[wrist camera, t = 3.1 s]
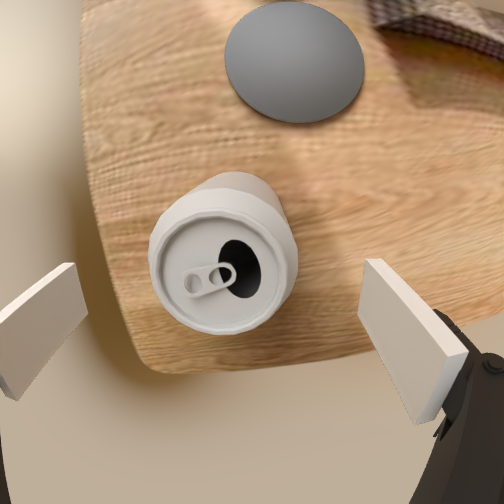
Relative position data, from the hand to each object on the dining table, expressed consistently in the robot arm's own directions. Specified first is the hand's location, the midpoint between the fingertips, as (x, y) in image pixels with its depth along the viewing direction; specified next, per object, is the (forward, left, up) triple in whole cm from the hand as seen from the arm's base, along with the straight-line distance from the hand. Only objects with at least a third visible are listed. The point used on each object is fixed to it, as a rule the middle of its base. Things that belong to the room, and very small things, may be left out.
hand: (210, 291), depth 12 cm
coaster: (-13, +5, -13) cm, 19 cm away
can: (0, 0, -13) cm, 13 cm away
